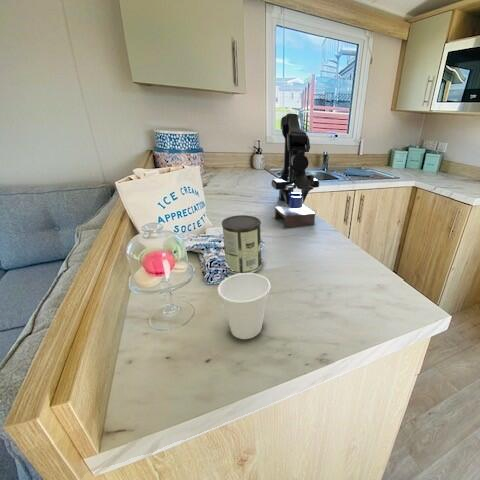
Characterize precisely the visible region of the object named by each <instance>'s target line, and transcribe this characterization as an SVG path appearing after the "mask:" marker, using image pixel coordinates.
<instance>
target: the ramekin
mask: <svg viewBox="0 0 480 480" xmlns="http://www.w3.org/2000/svg"><path fill="white" fill-rule="evenodd" d="M303 205H304V203H303V194H301V192H293V193H289V204H288V205H287V204H286V206H288V207H289V208H292V209H300V208H302V207H303Z"/></svg>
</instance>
